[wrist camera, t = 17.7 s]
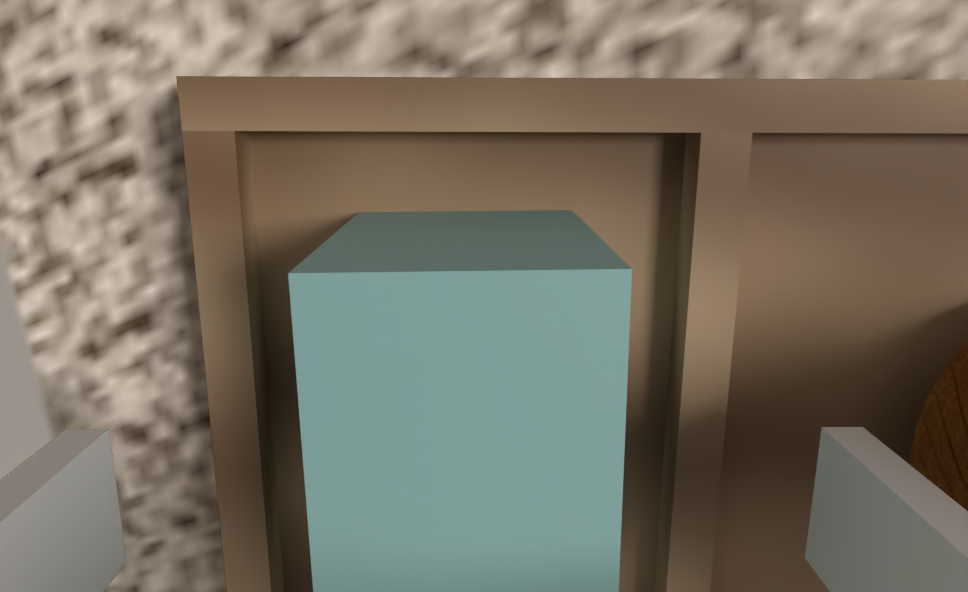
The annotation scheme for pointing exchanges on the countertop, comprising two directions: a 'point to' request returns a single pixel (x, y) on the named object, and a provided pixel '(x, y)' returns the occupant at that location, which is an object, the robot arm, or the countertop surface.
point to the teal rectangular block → (463, 402)
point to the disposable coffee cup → (945, 432)
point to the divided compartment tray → (654, 290)
